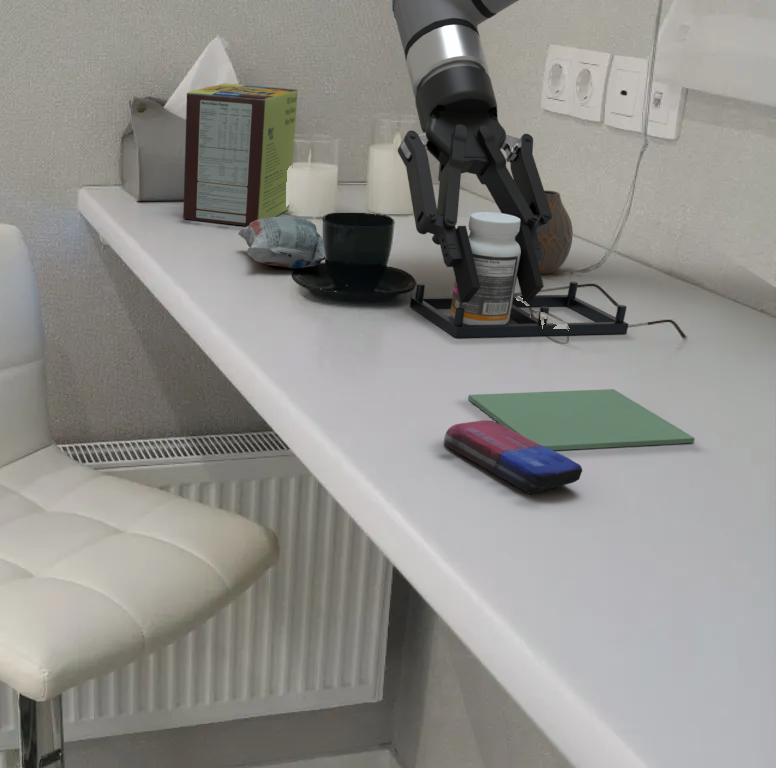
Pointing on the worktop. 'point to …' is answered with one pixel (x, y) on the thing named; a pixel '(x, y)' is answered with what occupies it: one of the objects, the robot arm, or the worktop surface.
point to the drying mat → (579, 419)
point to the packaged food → (284, 242)
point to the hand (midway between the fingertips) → (502, 294)
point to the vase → (555, 236)
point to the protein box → (238, 152)
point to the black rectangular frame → (522, 317)
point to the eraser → (512, 456)
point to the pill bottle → (491, 268)
